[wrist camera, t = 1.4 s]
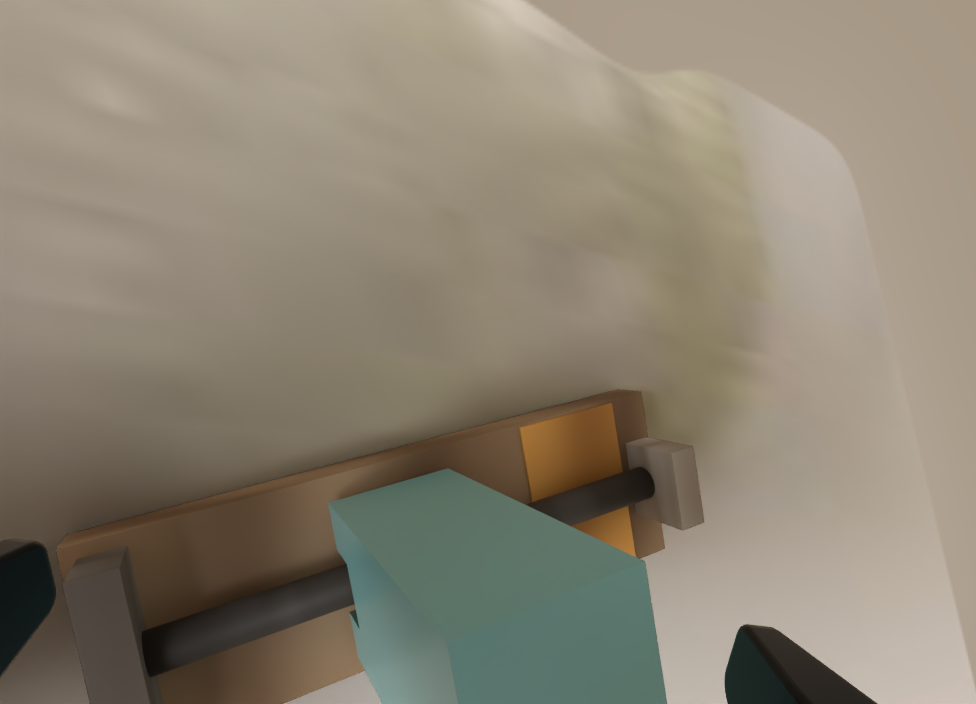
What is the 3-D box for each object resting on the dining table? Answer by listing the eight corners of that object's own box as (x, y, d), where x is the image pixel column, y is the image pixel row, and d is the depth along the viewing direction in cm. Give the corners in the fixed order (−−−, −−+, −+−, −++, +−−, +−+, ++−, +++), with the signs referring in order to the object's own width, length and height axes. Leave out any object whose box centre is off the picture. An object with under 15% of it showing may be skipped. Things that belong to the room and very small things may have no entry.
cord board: (115, 743, 19) (94, 842, 15) (66, 534, 18) (32, 582, 14) (641, 538, 27) (713, 569, 23) (618, 389, 26) (688, 396, 22)
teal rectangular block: (358, 657, 20) (499, 927, 10) (327, 502, 19) (446, 642, 10) (474, 611, 21) (683, 810, 12) (448, 468, 21) (644, 561, 12)
